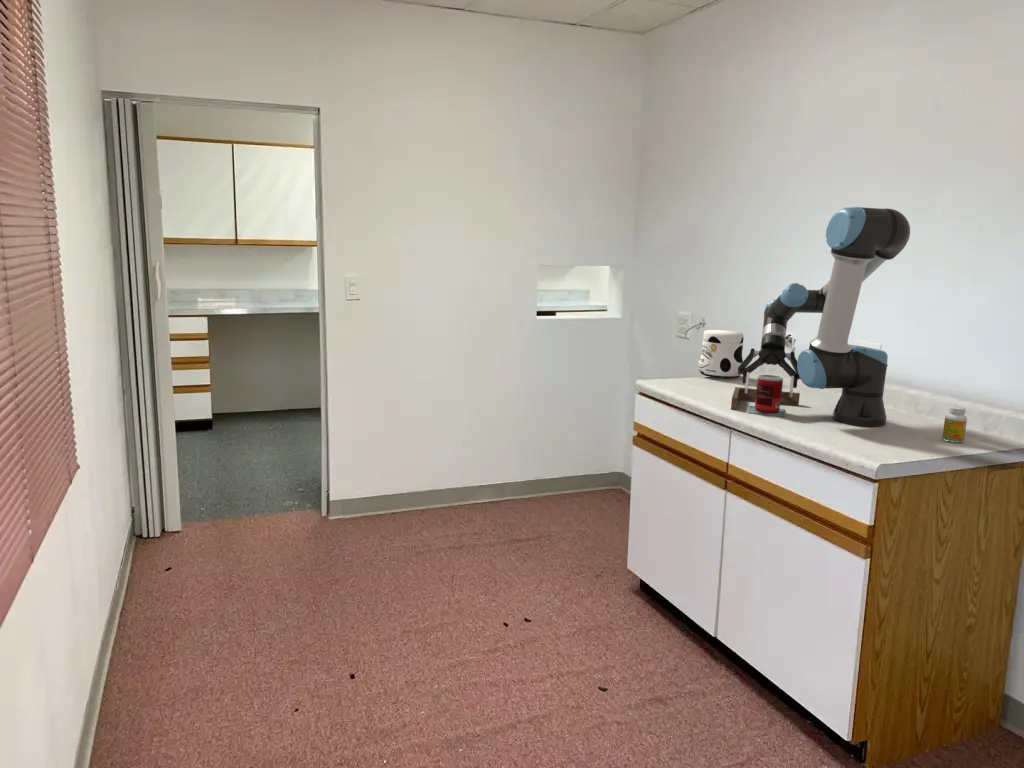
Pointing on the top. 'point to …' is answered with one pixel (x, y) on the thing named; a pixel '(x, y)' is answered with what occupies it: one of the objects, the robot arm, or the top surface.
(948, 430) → the supplement bottle
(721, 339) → the milk container
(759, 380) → the canned food
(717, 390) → the top surface
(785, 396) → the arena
